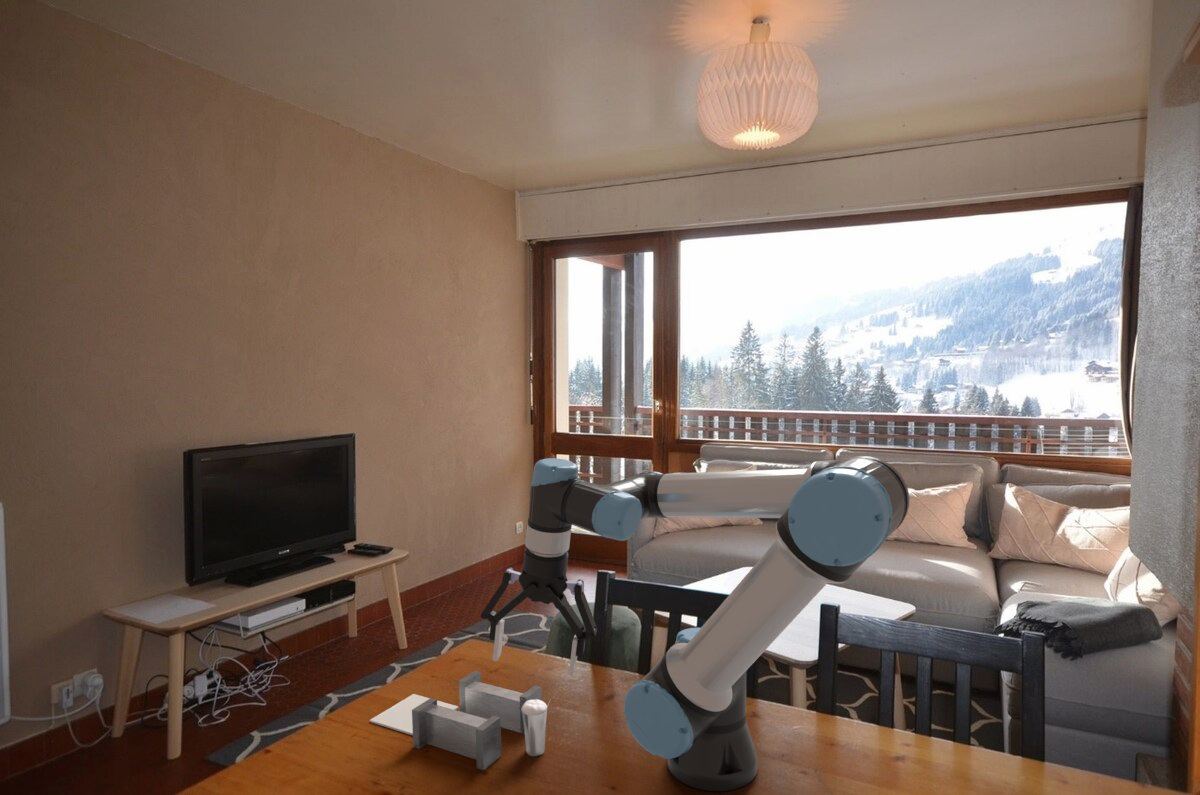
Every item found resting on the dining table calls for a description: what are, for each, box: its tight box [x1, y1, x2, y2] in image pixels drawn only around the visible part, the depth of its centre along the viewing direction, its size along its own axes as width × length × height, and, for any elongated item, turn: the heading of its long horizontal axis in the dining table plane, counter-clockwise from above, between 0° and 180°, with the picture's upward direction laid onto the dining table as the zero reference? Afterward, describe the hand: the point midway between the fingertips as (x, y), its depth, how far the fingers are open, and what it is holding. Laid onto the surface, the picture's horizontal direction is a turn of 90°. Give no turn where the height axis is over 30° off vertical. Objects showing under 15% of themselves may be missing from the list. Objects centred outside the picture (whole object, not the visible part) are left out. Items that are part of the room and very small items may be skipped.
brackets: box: [412, 670, 543, 771], centre depth 137 cm, size 16×18×7 cm
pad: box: [369, 693, 460, 736], centre depth 145 cm, size 12×12×1 cm
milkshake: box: [521, 698, 552, 757], centre depth 130 cm, size 4×5×10 cm
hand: (534, 664), depth 128 cm, fingers open, 13 cm apart
